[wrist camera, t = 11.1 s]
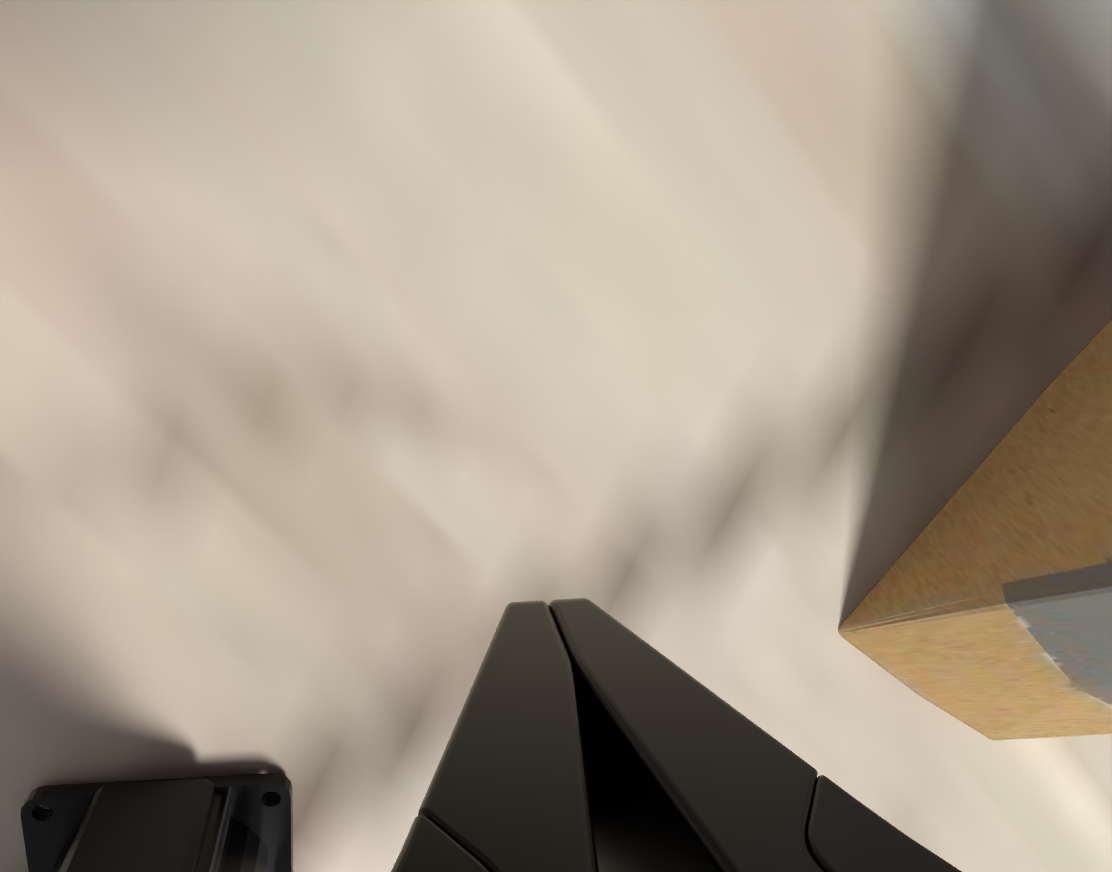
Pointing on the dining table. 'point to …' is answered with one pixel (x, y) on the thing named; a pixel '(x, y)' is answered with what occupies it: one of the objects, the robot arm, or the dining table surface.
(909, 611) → the sandwich container
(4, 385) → the dining table surface
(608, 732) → the robot arm
